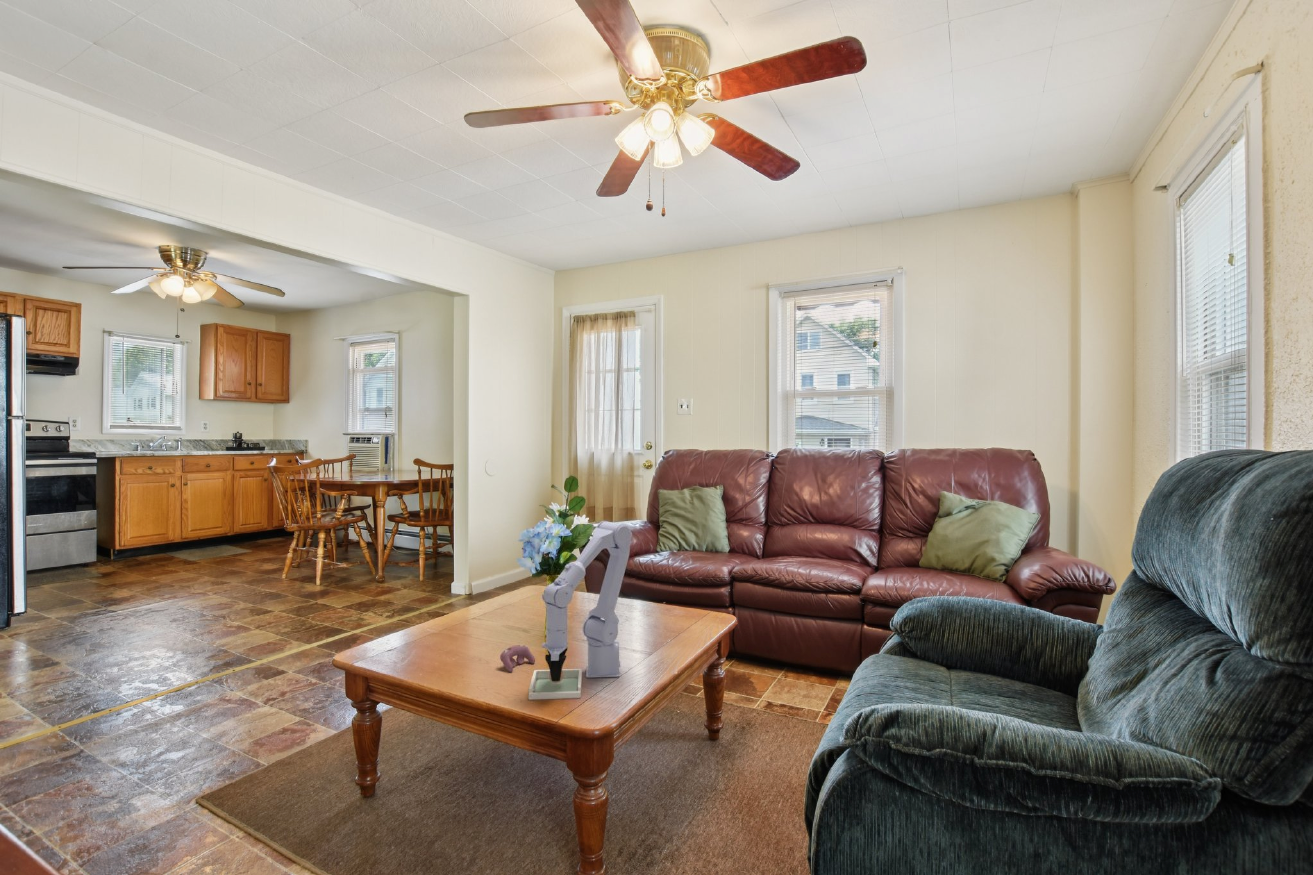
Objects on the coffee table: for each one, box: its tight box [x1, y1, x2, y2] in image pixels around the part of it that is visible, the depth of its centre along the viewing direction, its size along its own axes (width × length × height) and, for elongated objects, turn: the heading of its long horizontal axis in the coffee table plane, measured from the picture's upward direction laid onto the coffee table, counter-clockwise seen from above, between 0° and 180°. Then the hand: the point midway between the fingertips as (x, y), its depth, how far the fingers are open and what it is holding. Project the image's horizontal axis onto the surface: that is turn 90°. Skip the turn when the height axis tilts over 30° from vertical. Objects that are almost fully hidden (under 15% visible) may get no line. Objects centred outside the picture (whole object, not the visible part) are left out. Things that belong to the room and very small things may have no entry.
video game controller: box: [499, 644, 536, 673], centre depth 183 cm, size 10×5×7 cm, turn 141°
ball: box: [549, 670, 564, 683], centre depth 168 cm, size 4×4×4 cm
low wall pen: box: [528, 668, 583, 701], centre depth 168 cm, size 14×14×2 cm
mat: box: [533, 678, 578, 693], centre depth 168 cm, size 11×11×1 cm
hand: (556, 677), depth 168 cm, fingers closed on ball, 4 cm apart
